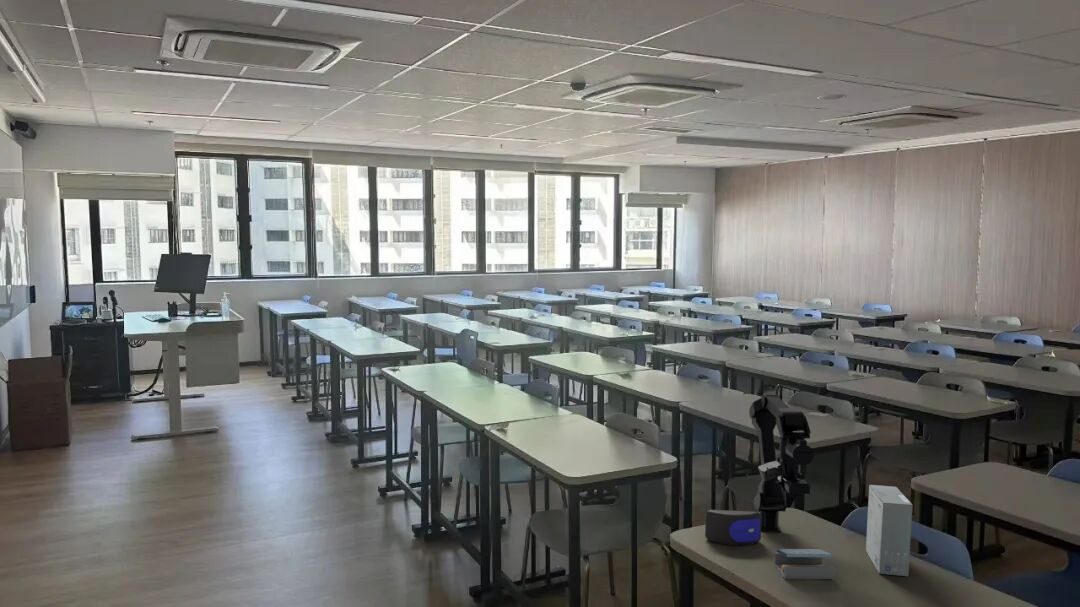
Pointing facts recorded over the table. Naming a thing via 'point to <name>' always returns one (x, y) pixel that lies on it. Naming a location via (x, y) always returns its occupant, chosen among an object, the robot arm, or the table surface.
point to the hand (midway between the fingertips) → (788, 507)
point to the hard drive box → (889, 530)
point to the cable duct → (803, 567)
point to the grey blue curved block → (733, 527)
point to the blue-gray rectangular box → (804, 553)
